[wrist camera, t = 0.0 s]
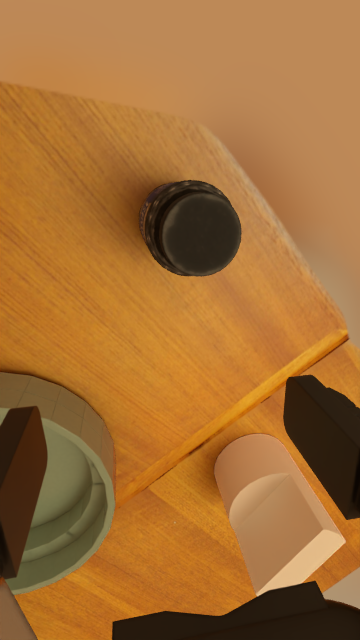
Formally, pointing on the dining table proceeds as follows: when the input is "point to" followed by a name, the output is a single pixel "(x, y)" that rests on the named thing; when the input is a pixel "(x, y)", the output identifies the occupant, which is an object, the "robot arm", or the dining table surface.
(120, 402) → the dining table surface
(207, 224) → the pill bottle
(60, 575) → the bowl
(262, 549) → the cylinder with rectangular tab
